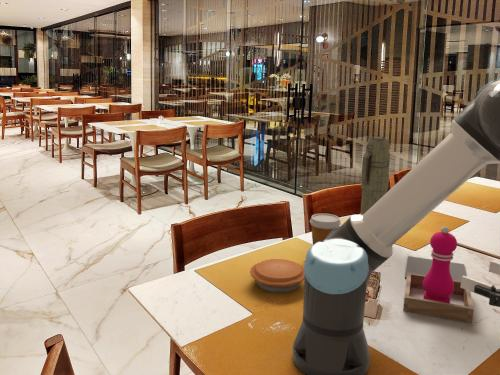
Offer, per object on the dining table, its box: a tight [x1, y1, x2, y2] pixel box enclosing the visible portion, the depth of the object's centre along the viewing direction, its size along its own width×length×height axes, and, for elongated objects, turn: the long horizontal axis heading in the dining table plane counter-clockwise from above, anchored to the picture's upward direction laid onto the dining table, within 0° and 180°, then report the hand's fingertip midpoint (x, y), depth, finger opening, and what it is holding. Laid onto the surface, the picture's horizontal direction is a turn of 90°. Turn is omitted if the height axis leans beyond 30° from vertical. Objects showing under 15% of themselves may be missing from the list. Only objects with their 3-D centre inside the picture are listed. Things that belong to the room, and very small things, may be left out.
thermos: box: [359, 136, 391, 215], centre depth 152 cm, size 9×12×35 cm
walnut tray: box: [402, 272, 475, 324], centre depth 112 cm, size 15×15×4 cm
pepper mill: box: [422, 226, 458, 303], centre depth 110 cm, size 7×7×20 cm
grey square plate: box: [404, 255, 467, 281], centre depth 129 cm, size 16×16×1 cm
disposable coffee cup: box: [309, 213, 342, 245], centre depth 140 cm, size 10×10×12 cm
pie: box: [249, 258, 305, 294], centre depth 121 cm, size 15×16×5 cm
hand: (476, 273), depth 103 cm, fingers open, 13 cm apart
